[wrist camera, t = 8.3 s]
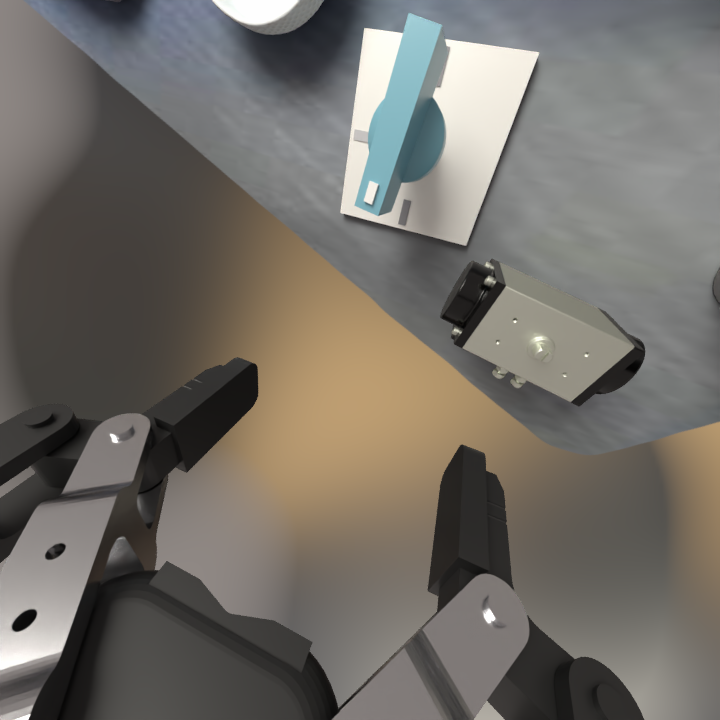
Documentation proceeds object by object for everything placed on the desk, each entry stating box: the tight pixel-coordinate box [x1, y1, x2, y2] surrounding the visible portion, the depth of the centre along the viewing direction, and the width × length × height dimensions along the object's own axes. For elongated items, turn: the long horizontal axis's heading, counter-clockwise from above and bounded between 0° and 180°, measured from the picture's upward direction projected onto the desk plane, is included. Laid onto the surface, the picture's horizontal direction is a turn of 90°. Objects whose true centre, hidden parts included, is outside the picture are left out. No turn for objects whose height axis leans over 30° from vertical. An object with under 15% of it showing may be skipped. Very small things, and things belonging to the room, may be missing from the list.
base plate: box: [341, 28, 539, 246], centre depth 32 cm, size 18×18×8 cm
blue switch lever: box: [354, 13, 448, 216], centre depth 25 cm, size 12×7×8 cm, turn 161°
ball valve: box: [440, 259, 645, 406], centre depth 33 cm, size 18×8×18 cm, turn 70°
